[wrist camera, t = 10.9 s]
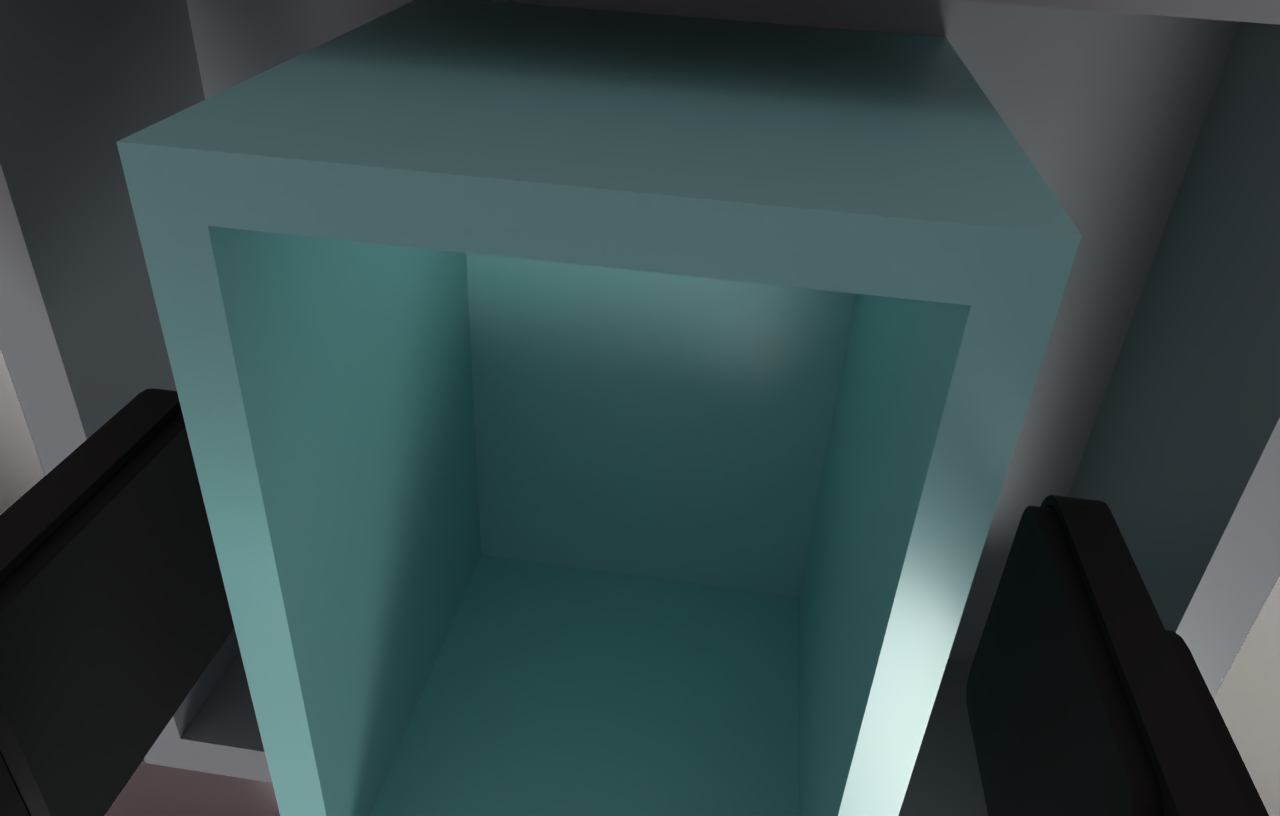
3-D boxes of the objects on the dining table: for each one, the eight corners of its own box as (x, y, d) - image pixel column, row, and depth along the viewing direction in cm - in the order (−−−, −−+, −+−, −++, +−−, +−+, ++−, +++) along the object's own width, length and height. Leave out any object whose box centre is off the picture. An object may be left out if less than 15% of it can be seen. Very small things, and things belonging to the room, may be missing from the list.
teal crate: (945, 37, 12) (1081, 234, 6) (826, 603, 18) (841, 996, 12) (424, -5, 13) (115, 141, 7) (460, 554, 18) (301, 902, 12)
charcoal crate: (1326, -104, 12) (1624, -61, 7) (1029, 670, 19) (1096, 914, 15) (131, -180, 13) (-184, -178, 9) (280, 567, 20) (145, 763, 16)
